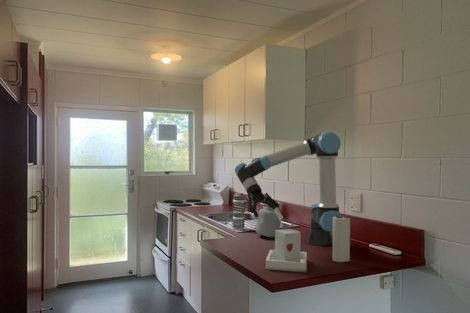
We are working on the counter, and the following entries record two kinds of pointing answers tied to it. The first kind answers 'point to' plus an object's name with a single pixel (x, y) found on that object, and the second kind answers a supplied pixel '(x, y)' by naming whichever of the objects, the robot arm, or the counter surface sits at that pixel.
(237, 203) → the decorative candle
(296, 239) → the supplement box
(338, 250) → the paper towel roll
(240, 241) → the counter surface
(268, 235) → the jar
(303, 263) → the ceramic dish
